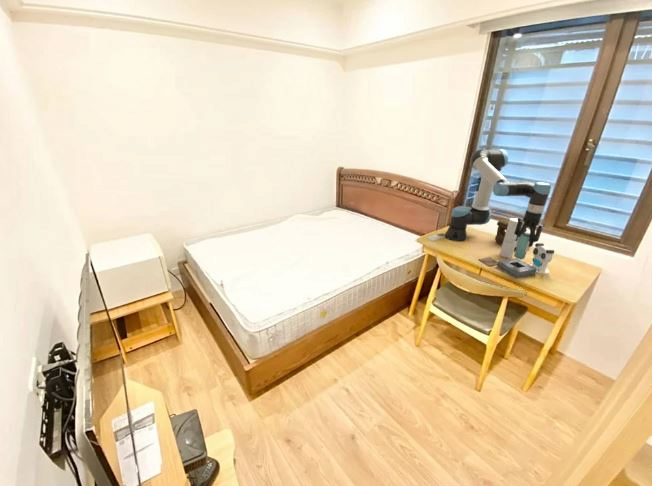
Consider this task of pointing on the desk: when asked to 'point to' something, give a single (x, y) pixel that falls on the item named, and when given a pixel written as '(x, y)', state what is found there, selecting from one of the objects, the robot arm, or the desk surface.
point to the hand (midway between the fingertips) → (521, 248)
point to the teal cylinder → (522, 246)
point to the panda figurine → (542, 258)
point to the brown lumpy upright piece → (502, 231)
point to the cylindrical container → (509, 239)
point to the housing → (516, 268)
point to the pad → (489, 261)
